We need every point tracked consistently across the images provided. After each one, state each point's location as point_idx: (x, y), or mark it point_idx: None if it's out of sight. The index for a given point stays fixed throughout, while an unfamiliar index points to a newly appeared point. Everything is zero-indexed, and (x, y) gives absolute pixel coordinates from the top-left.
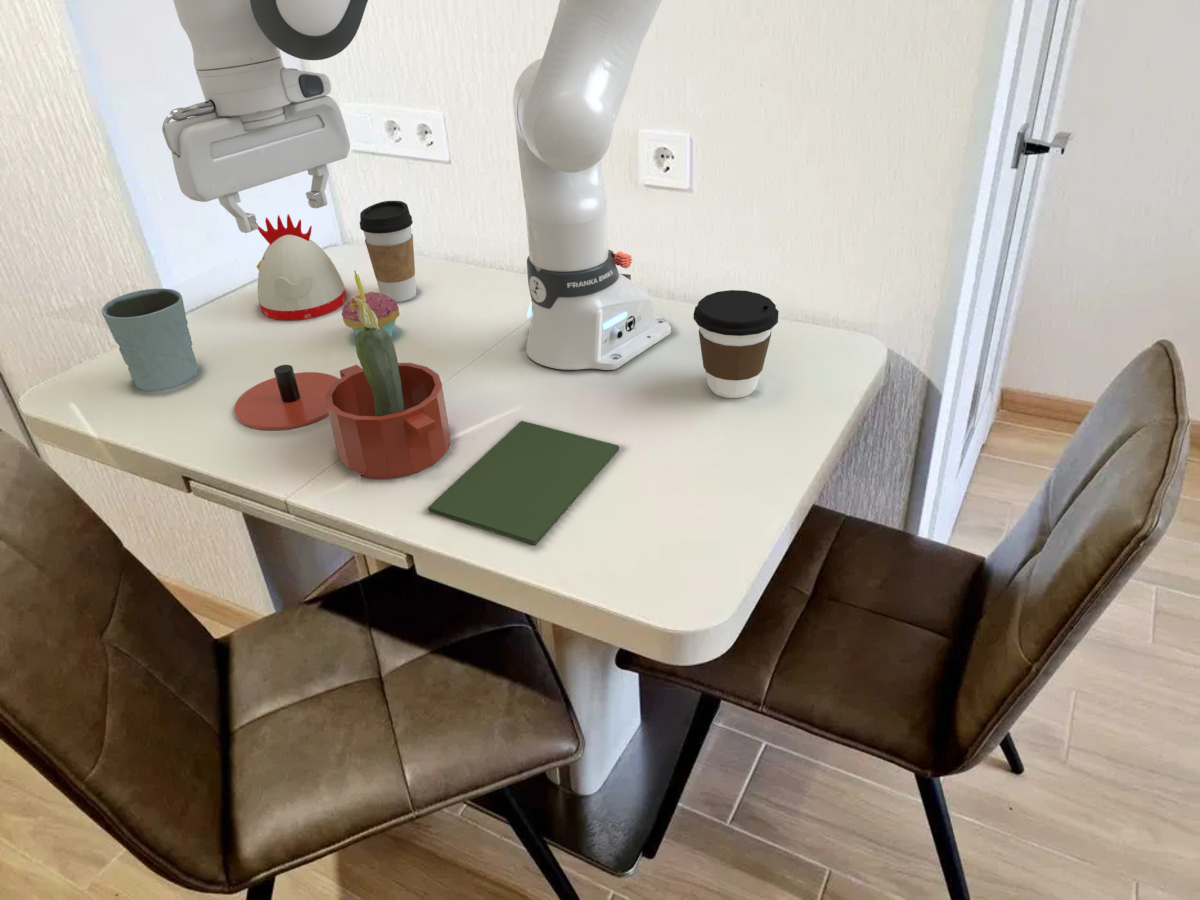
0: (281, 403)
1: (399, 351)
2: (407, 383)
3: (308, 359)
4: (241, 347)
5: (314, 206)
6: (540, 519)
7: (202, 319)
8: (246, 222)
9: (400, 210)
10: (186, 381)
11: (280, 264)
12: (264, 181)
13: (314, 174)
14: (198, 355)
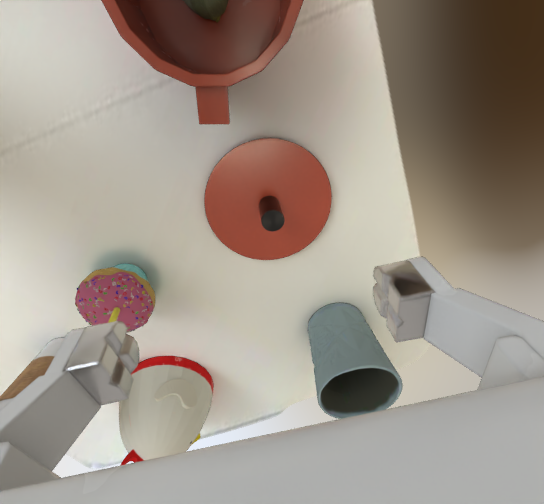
0: (282, 201)
1: (112, 236)
2: (143, 36)
3: (212, 282)
4: (257, 341)
5: (125, 333)
6: None
7: (262, 401)
8: (435, 274)
9: None
10: (329, 307)
11: (179, 424)
12: (379, 420)
13: (33, 465)
14: (294, 348)
